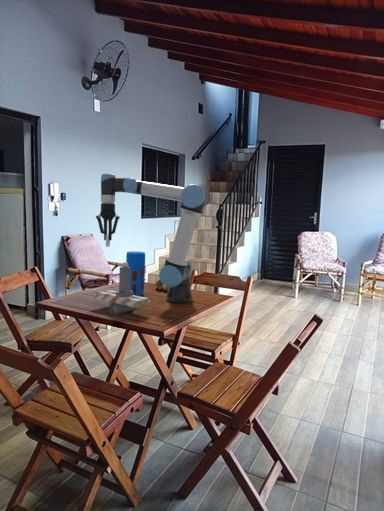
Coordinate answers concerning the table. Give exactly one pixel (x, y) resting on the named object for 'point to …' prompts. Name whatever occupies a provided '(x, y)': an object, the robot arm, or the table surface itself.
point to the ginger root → (161, 285)
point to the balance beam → (121, 301)
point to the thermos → (137, 271)
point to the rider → (124, 281)
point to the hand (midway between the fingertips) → (107, 246)
